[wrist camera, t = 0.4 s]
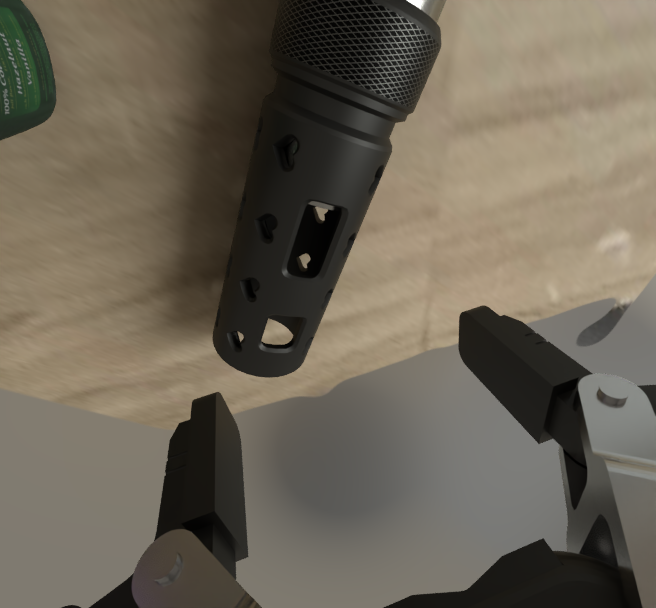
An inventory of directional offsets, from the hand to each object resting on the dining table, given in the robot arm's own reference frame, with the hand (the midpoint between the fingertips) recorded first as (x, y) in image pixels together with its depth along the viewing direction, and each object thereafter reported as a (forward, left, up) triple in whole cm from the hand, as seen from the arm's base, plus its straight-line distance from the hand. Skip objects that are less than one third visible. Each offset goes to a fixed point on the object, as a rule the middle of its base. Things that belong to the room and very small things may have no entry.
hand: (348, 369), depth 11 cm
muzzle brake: (+1, +3, -23) cm, 23 cm away
